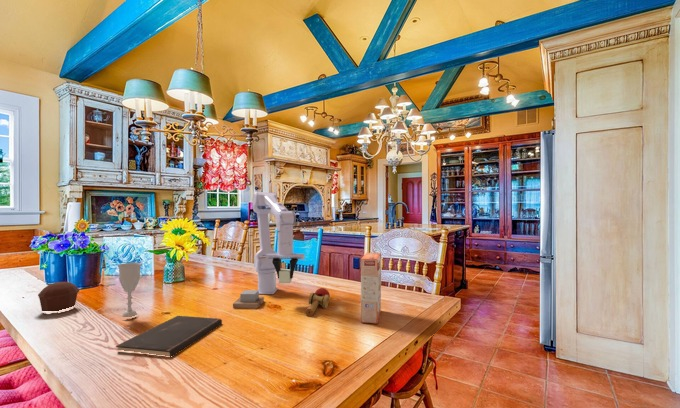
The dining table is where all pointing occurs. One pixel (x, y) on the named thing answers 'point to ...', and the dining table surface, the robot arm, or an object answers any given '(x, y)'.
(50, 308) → the muffin
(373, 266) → the cracker box
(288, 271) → the sage block
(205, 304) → the dining table surface
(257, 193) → the robot arm
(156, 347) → the hardcover book
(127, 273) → the chalice
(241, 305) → the walnut slab
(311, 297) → the kendama
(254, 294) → the slate cube
